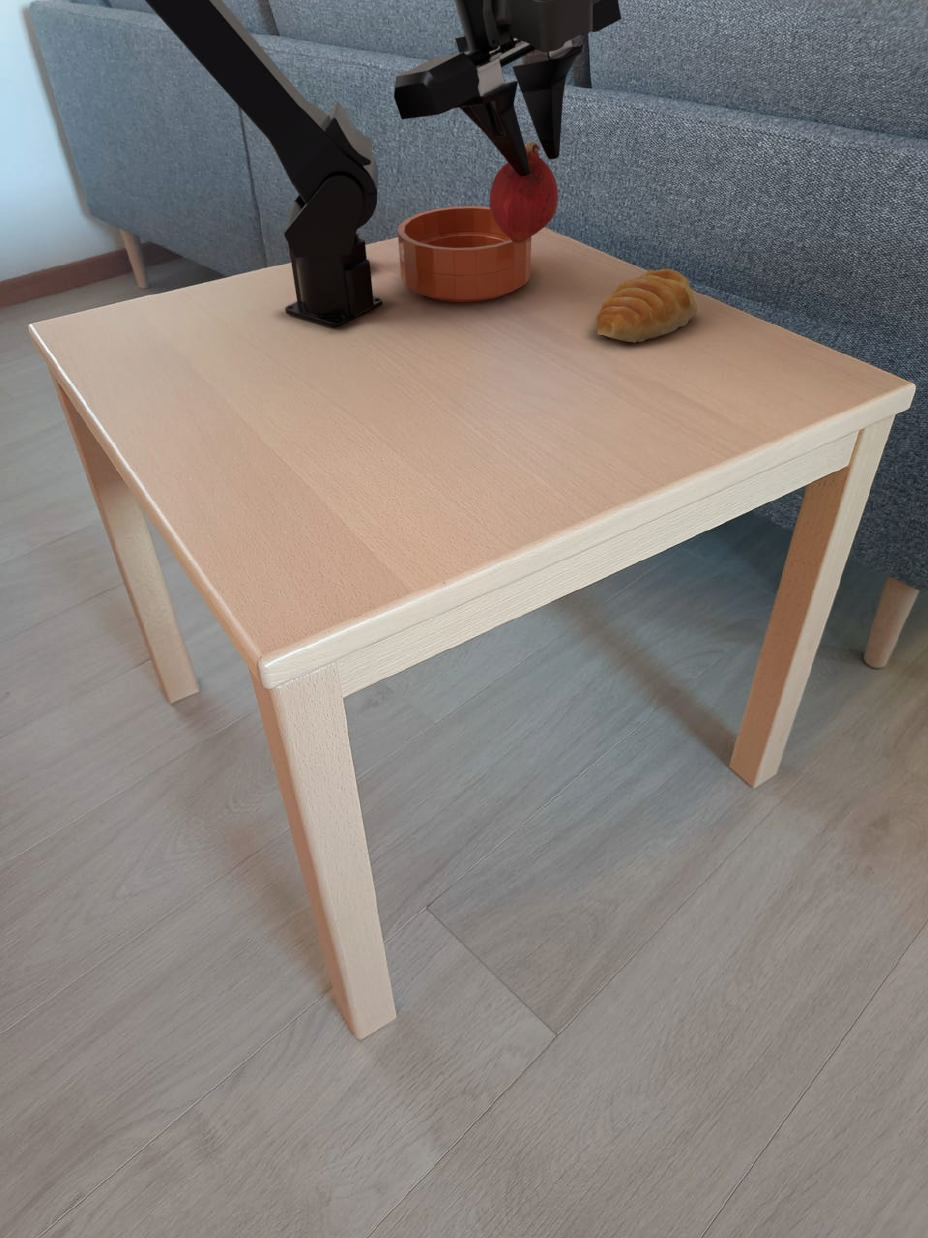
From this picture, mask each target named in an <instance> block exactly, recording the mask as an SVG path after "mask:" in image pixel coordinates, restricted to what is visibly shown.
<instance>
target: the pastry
mask: <svg viewBox="0 0 928 1238" xmlns="http://www.w3.org/2000/svg"><path fill="white" fill-rule="evenodd" d="M689 283H690V282H689V279H688V278H687V277H686V276H685V275H684V274H682V273H680V272H679V271H676V270H674V269H671V268H662V269H658V270H654V269H648V270H647V271H646V273H644V274H641V275H640V276H638V277H636V278H633V279H629V280H626V281H624V282H622V283H620V284H619V285H618V286H617V288H616V289H615V290H614V291H612V293H611V294H610V295H609V296H608V297H607V298H606V300H605V301H604V303H603V304H602V305H601V309H600V311H599V313H598V314H597V315H596V318H595V319H596V328H597V335H599V336H605V337H607V338H608V337H609V338H610V339H616V340H619V341H623V342H628V343H633V344H636V343H643V342H645V341H646V340H650V339H658V338H659V337H662V336H665V335H668V334H671V333H672V332H675V331H677V329H678V328H680V327H681V328H683V327H684V326H686V325H688V323H689V321H690V320H691V319H692V318H693V317H694V315H695V314H696V313H697V312H698V309H699V304H698V302H697V300H696V299H695V293H694V292H693V291H694V290H692V288H691V286H690V284H689Z"/></svg>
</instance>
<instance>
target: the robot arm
mask: <svg viewBox="0 0 928 1238" xmlns="http://www.w3.org/2000/svg"><path fill="white" fill-rule="evenodd" d="M144 1H145V2H146V4H147V5H148V6H149V7H150V9H152V11H153V12H155V14H156V15H157V16H158V17H159V19H161V20H162V22H163V23H164V24H165V25H166V26H167V27H168V28H169V30H170V31H171V32H173V34H174V35H175V36H176V37H177V39H179V41H180V42H181V43H182V44H183V45H184V46H185V47H186V48H187V50H188V51H189V52H190V53H191V54H192V55H193V56H194V58H196V60H197V61H198V62H199V63H200V64H201V66H203V68H204V69H205V70H206V71H207V72H208V73H209V74H210V75H211V77H212V78H213V79H214V80H215V81H216V82H217V83H218V85H219V86H220V87H221V88H222V89H223V91H225V93H227V95H228V96H229V97H230V98H231V99H232V100H233V102H235V104H236V105H237V106H238V107H239V108H240V109H241V111H243V113H244V114H245V115H246V116H247V117H248V119H250V121H251V122H252V123H253V124H254V125H255V126H256V127H257V128H258V130H259V131H260V132H261V133H262V134H263V135H264V136H265V137H266V138H267V140H268V142H269V143H270V144H271V146H272V148H273V150H274V152H275V154H276V155H277V158H278V160H279V162H280V163H281V166H282V167H283V169H284V171H285V173H286V175H287V177H288V179H289V181H290V183H291V185H292V186H293V188H294V189H295V190H296V192H297V194H298V195H297V196H296V197H295V198H294V200H293V201H292V205H291V209H290V211H289V215H288V219H287V223H286V227H285V230H284V235H283V236H284V238H285V240H286V242H287V244H288V251H289V258H290V264H291V265H290V266H291V271H292V277H293V284H294V289H295V290H294V291H295V297H296V301H295V302H293V303H291V304H289V305H287V306H286V307H284V310H285V314H287V315H290V316H293V317H296V318H300V319H303V320H306V321H309V322H313V323H316V324H320V325H323V326H326V327H330V328H333V329H340V328H342V327H343V326H345V325H348V324H349V323H351V322H353V321H355V320H357V319H359V318H361V317H363V316H365V315H366V314H369V313H371V312H373V311H374V310H376V309H379V308H380V307H382V306H383V305H384V301H383V298H381V297H377V296H374V292H373V290H374V289H373V281H372V280H373V279H372V271H371V261H370V260H369V259H367V258H368V257H367V246H366V240H365V239H364V238H360V235H359V234H358V230H359V229H360V228H361V227H363V226H364V225H367V223H368V222H369V221H370V219H371V218H372V217H373V216H374V213H375V211H376V208H377V205H378V189H379V167H378V164H377V160H376V157H375V156H374V154H373V139H372V138H370V137H368V136H366V135H365V134H364V133H362V132H361V131H360V130H359V129H358V128H357V127H356V126H355V124H354V123H353V121H352V120H351V118H350V116H349V114H348V113H347V111H346V109H345V108H344V107H343V105H342V103H340V102H339V101H337V102H335V104H334V106H333V107H332V109H331V110H330V111H329V113H328V114H327V112H325V111H323V110H322V109H321V108H319V107H317V106H316V105H315V104H313V103H312V102H310V101H309V100H308V99H306V97H304V96H303V95H302V94H301V93H300V91H299V90H298V88H297V87H295V85H294V83H292V82H291V80H290V79H289V78H288V77H287V75H285V74H284V72H283V71H282V69H280V67H279V66H278V65H277V64H276V63H275V62H274V60H273V59H272V58H271V57H270V55H269V54H268V53H267V52H266V51H265V50H264V48H263V47H262V46H261V45H260V44H259V42H258V41H257V40H256V39H255V38H254V36H253V35H252V34H251V32H249V31H248V30H247V28H246V27H245V26H244V25H243V24H242V21H240V20H239V19H238V17H237V16H236V15H235V14H234V12H232V10H231V9H230V8H229V7H228V5H227V4H226V3H225V2H224V1H223V0H144ZM454 4H455V8H456V11H457V15H458V18H459V21H460V24H461V28H462V32H463V34H461V35H459V36H457V37H455V38H454V40H455V43H456V47H457V50H458V53H453V54H449V55H444V56H438V57H435V58H430V59H428V60H427V61H425V62H422V63H420V64H418V65H417V66H414V67H412V68H411V69H409V70H407V71H404V72H402V73H401V74H399V75H396V77H395V84H394V91H393V98H394V99H393V100H394V102H395V104H396V107H397V110H398V113H399V116H400V119H401V120H409V119H417V118H424V117H425V118H426V117H432V116H438V115H441V114H444V113H447V112H449V111H451V110H453V109H460V110H461V111H462V112H463V113H464V114H465V115H466V116H467V117H468V118H469V120H471V121H472V122H473V124H475V125H476V126H477V127H478V128H479V129H480V130H481V131H482V132H483V134H485V136H486V137H487V138H488V139H489V140H490V142H491V143H492V144H493V145H494V147H495V148H496V149H497V151H499V153H500V154H501V155H502V156H503V158H504V159H505V160H506V162H508V163H509V164H510V165H511V166H512V167H513V169H514V170H515V171H516V172H517V174H518V175H519V176H527V175H529V174H530V169H529V163H528V157H527V152H526V148H525V147H526V145H525V141H524V137H523V134H522V130H521V127H520V123H519V119H518V115H517V112H516V109H515V108H516V107H515V99H516V96H517V89H518V87H519V89H520V90H519V91H520V93H521V95H522V98H523V100H524V103H525V105H526V108H527V111H528V114H529V116H530V119H531V123H532V125H533V127H534V131H535V132H536V135H537V138H538V141H539V144H540V145H541V148H542V149H543V152H544V154H545V155H546V158H547V159H548V160H557V159H558V158H559V157H560V154H561V153H560V152H561V134H562V122H563V121H562V118H563V104H564V92H565V88H566V87H565V86H566V81H567V76H568V74H569V72H570V70H571V68H572V66H573V65H574V63H575V61H576V59H577V57H578V56H580V55H582V54H583V52H584V49H585V44H583V43H582V44H577V45H573V44H572V43H573V42H572V40H573V39H576V38H577V37H578V36H580V35H581V36H582V37H583V36H586V35H588V34H590V33H596V32H600V31H601V30H603V29H606V28H607V27H609V26H611V25H613V24H614V23H617V22H619V21H621V20H622V18H623V17H622V12H621V7H620V3H619V0H454ZM467 52H469V53H467ZM466 53H467V54H466ZM519 59H521V61H520V62H518V63H516V64H514V65H512V70H513V73H514V76H515V79H516V80H513V81H508V82H506V79H505V76H504V73H503V68H504V67H505V66H507V65H509V64H511V63H513V62H516V61H518V60H519Z"/></svg>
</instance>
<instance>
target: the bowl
mask: <svg viewBox="0 0 928 1238" xmlns="http://www.w3.org/2000/svg"><path fill="white" fill-rule="evenodd" d="M397 240H398V241H397V242H398V253H399V254H398V255H399V268H400V269H399V270H400V279H401V282H402V284H404V286H405V287H406V288H408V289H409V290H411V291H413V292H414V293H417V294H418V295H423V296H424V297H427V298H431V299H433V300H438V301H443V302H452V303H471V302H473V303H474V302H482V301H487V300H492V299H496V298H500V297H502V296H505V295H507V294H509V293H512V292H514V291H516V290H517V289H519V288H521V287H523V286H524V285H526V283H527V282H528V281H529V280H530V278H531V271H532V267H531V265H532V236H531V237H529V238H527V239H526V240H524V241H523V242H520V243H515V242H513V241H512V240H511V239H510V238H509V237H508V236H507V235H506V234H505V233H504V232H503V231H502V230H501V229H500V228H499V226H498V225H497V223H496V221H495V220H494V218H493V216H492V213H491V210H490V206H479V205H467V206H450V207H449V206H447V207H441V208H435V209H430V210H425V211H422V212H419V213H417V214H415V215H412V216H410V217H407V218H405V220H403V221H402V222H400V224H399V225H398V229H397Z"/></svg>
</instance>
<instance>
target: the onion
mask: <svg viewBox="0 0 928 1238" xmlns="http://www.w3.org/2000/svg"><path fill="white" fill-rule="evenodd" d="M525 148H526V152H527V157H528V163H529V169H530V174H529V175H527V176H519V175H518V174H517V172H516V171H515V170H514V169H513V167H512V166H511V165H510V164H509V163H508V161H506V163H505V164H503V166H502V167H501V168H499V170H498V172H497V173H496V175H495V176H494V178H493V181H492V183H491V187H490V191H489V192H490V193H489V207H490V210H491V213H492V216H493V218H494V220H495V221H496V223H497V225H498V226H499V228H500V229H501V230H502V231H503V232H504V233H505V234H506V235H507V236H508V237H509V238H510V239H511V240H512V241H513V242H515V243H520V242H523V241H524V240H526V239H527V238H529V237H531V238H532V237H533V236H535V235H537V234H538V233H539V232H540V231H542V230H543V229H544V228H545V227H546V226H548V224H549V223H550V222H551V221H552V219H553V218H554V216H555V213H556V212H557V207H558V203H559V202H558V201H559V191H558V190H559V189H558V186H557V181H556V178H555V176H554V173H553V170H552V169H551V168H550V166H549V165H548V164H547V162H545V160H544V159H543V158H541V157H540V155H539V150H540V146H538V144H537V143H536V142H535V141H531V142H530V141H529V142H528V143H526V145H525Z"/></svg>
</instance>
